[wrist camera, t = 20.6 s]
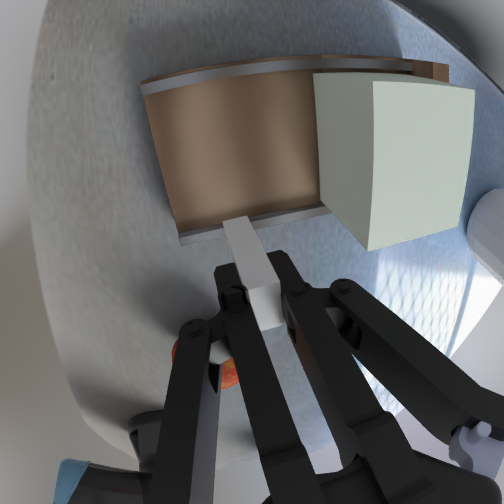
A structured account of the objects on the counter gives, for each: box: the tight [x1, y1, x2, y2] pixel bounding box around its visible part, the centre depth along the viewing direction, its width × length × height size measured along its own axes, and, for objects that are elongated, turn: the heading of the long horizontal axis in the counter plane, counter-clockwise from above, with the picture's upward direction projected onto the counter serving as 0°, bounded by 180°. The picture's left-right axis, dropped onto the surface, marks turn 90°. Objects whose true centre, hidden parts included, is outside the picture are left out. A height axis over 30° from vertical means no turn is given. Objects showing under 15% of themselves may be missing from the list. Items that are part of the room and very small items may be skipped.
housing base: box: [140, 55, 449, 246], centre depth 23 cm, size 24×14×6 cm, turn 97°
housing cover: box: [313, 72, 475, 252], centre depth 20 cm, size 9×11×8 cm
